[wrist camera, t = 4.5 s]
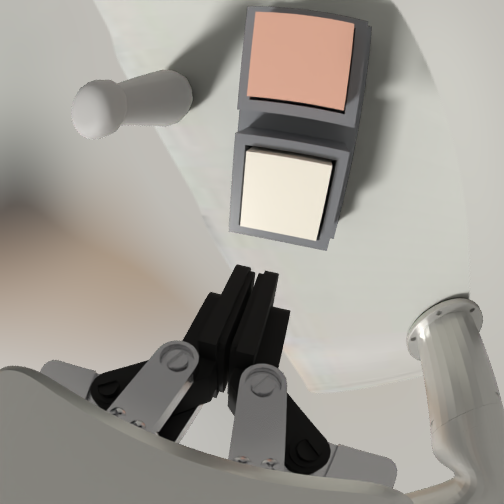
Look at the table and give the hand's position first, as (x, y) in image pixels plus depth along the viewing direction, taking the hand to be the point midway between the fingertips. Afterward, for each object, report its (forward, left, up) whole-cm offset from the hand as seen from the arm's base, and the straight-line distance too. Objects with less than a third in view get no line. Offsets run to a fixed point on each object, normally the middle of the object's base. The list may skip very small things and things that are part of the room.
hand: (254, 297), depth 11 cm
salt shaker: (+14, +5, -19) cm, 24 cm away
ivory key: (0, 0, -14) cm, 14 cm away
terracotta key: (+7, -7, -13) cm, 16 cm away
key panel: (+4, -3, -18) cm, 19 cm away
